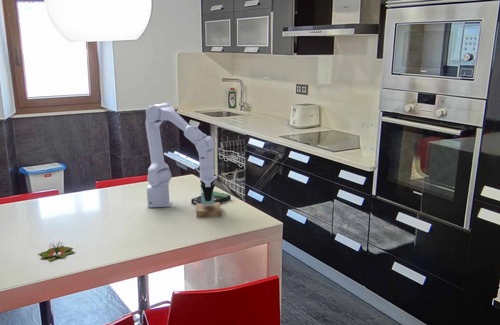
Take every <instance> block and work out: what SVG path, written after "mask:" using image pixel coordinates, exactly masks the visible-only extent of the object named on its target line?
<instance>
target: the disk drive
mask: <svg viewBox="0 0 500 325" xmlns="http://www.w3.org/2000/svg"><path fill="white" fill-rule="evenodd" d="M231 198H232V196H231V194H227V193H224V192H219V191H214V202H220V205H221V204H223V203H226V202H228V201H231V200H232V199H231ZM190 200H191V205H194V206H196V203H202V201H201V195H199V196H195V197H193V198H191V199H190Z"/></svg>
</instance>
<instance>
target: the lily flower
mask: <svg viewBox="0 0 500 325" xmlns="http://www.w3.org/2000/svg"><path fill="white" fill-rule="evenodd" d="M53 243H55V242H54V241H53ZM53 243H52V242H50V245H48V246H49V248H48V249H47V250H46V251H42V252H39V253H38V255H41V258H40V260H42V259H45V258H47V260H48V261H49V262H52V261H53V260H56V259H58V258H63V259H66V258H67V257H66V256H67V255H71V254H75V253H76V251H74V250H71V249H72V247H70V246H69V247H68V246H66V245H63V243H62V242H57V244H56V246H55V244H53ZM59 245H60V246H59ZM51 246H52V247H51ZM53 257H54V258H53Z"/></svg>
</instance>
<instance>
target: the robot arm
mask: <svg viewBox="0 0 500 325" xmlns="http://www.w3.org/2000/svg"><path fill="white" fill-rule="evenodd" d="M164 121H169V122H171V123H172V124H174V125H175V126H176V127H177V128H179V129H180V130H182V132H183V136H184V137H185V138H186V139H187V140H188V141H189V142H191V143H192V144H193V145H194V147H195V148H196V151H197V153H198V159H199V160H198V161H199V181H200V183H201V184H200V188H201V189H202V190H203V192H204V197H205V200H206V201H211V198H212V192H213V191H214V188H215V186H216V184H214V181H215V180H217V179H218V176H216V175H215V164H214V161H215V160H214V149H215V148H216V147H217V146H216V145H217V142H216V139H214V138H213V136H210V135H207V134H206V133H204V132H202V131H201V129H199V127H198V125H194V124H189V123H188V122H187V121H186V120H185V119H184V118H183V117H182V116H181V115H180V113H179V114H178V112H176V110H175V107H174V106H172V105H171V104H170V103H168V102H163V103H158V104H150V105H149V106H148V107H147V108H146V110H145V130H146V136H147V142H148V143H147V144H148V150H149V156H150V165H149V167H148V169H147V178H146V179H147V182H148V185H147V186H146V195H147V198H146V201H147V208H162V207H163V208H164V207H171V204H172V203H171V202H172V200H171V198H170V188H169V187H170V186H169V185H170V181H171V180H172V177H173V176H172V172H171V170H170V167H169V164H168V163H166V162H165V157H164V151H163V144H162V138H161V137H162V136H161V130H160V126H161V125H162V123H163V122H164Z"/></svg>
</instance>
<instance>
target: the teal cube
mask: <svg viewBox="0 0 500 325" xmlns="http://www.w3.org/2000/svg"><path fill="white" fill-rule="evenodd" d="M214 192H215V191H214V190H213V192H212V198H211V201H206V200H205V197H204V192H203V190H202V188H201V189H200V196H201V201H202V205H204V204H214Z"/></svg>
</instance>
